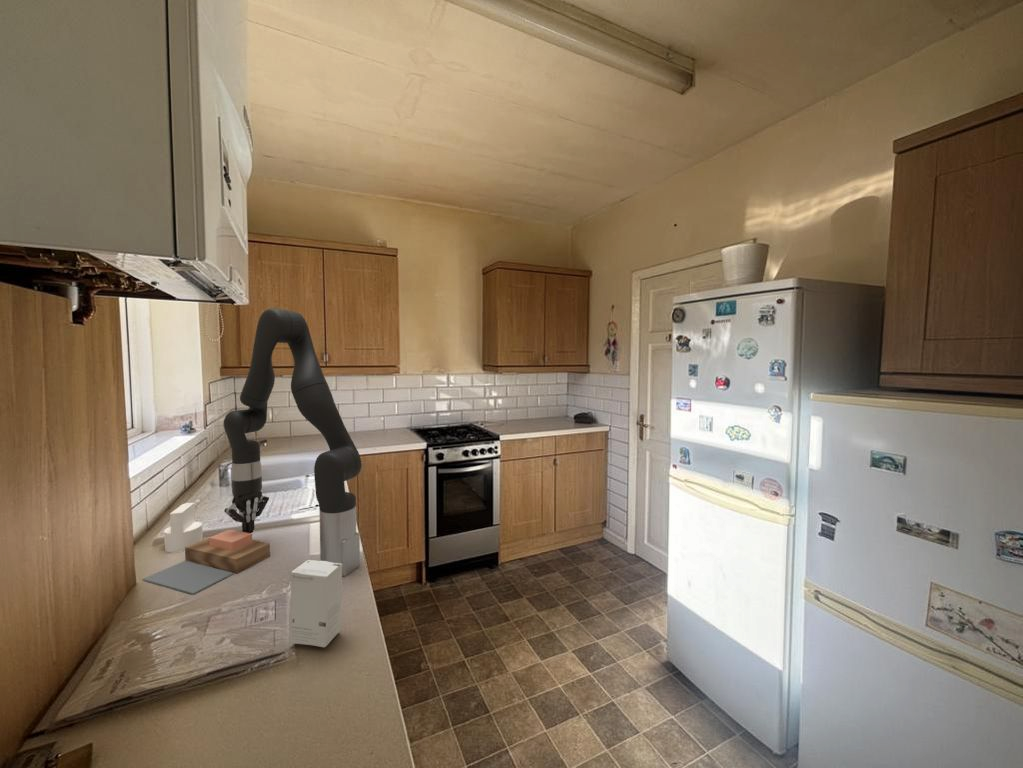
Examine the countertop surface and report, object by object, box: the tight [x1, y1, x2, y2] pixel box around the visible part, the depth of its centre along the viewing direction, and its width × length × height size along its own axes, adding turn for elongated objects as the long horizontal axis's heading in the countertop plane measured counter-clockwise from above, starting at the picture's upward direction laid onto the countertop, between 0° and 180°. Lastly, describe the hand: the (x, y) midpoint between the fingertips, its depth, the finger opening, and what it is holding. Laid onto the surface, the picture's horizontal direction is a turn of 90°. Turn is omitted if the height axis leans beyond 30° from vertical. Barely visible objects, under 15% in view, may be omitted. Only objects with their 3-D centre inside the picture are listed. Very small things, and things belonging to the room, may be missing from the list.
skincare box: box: [288, 559, 343, 648], centre depth 84 cm, size 8×6×15 cm
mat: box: [142, 560, 234, 596], centre depth 106 cm, size 19×10×1 cm, turn 71°
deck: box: [184, 537, 271, 575], centre depth 116 cm, size 20×10×4 cm, turn 71°
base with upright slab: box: [163, 502, 204, 553], centre depth 123 cm, size 9×9×12 cm
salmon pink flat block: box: [208, 529, 253, 551], centre depth 117 cm, size 9×6×2 cm, turn 71°
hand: (248, 532), depth 122 cm, fingers closed
